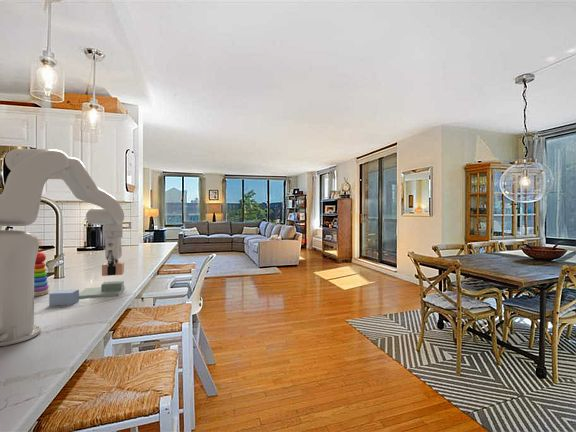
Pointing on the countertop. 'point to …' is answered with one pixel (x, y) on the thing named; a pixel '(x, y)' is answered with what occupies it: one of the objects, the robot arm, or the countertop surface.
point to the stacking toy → (40, 276)
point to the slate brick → (63, 297)
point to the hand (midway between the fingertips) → (113, 273)
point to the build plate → (98, 292)
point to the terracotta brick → (118, 268)
